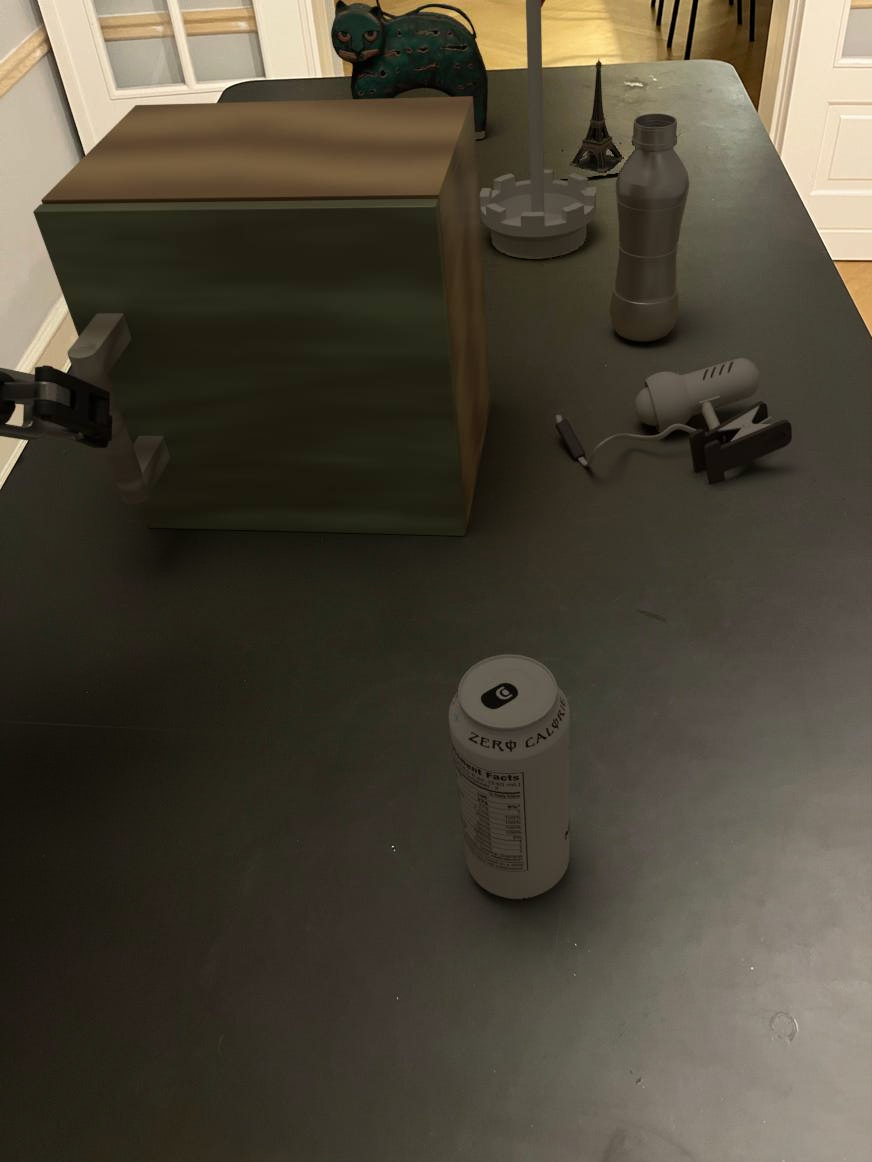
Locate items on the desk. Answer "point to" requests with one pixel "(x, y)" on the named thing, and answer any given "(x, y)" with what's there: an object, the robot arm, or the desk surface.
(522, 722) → the energy drink can
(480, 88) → the ceramic cat
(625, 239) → the plastic bottle
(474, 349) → the cupboard
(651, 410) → the clip-on lamp
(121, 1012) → the desk surface
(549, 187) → the flag stand
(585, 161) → the eiffel tower figurine
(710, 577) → the desk surface
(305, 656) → the desk surface
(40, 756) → the desk surface
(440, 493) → the cupboard door
